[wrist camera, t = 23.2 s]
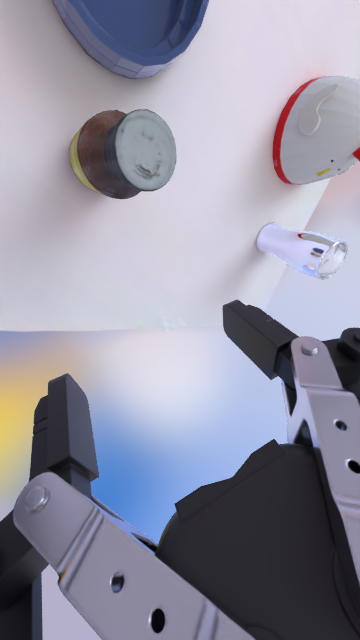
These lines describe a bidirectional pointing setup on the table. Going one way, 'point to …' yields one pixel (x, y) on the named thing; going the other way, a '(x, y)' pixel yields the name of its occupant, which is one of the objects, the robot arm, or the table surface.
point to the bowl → (133, 31)
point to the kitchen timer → (318, 131)
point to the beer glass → (303, 250)
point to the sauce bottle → (123, 153)
